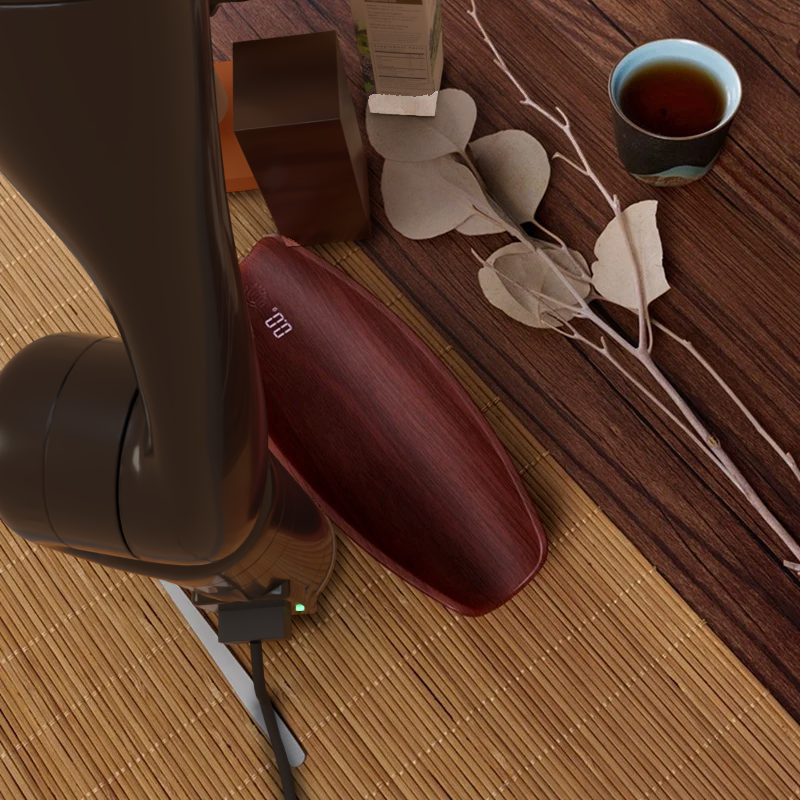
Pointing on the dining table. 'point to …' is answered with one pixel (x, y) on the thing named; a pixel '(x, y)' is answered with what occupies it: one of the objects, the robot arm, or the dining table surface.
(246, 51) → the column
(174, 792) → the dining table surface
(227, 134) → the stand
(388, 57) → the syrup box
